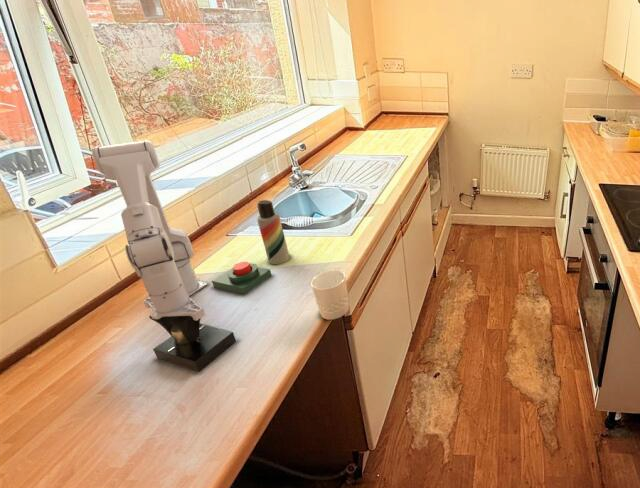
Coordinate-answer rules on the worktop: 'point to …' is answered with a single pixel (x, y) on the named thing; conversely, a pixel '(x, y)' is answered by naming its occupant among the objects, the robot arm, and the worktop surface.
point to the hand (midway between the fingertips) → (186, 336)
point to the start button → (241, 268)
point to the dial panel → (196, 348)
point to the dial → (178, 336)
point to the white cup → (331, 294)
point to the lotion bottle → (272, 233)
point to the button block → (242, 280)
